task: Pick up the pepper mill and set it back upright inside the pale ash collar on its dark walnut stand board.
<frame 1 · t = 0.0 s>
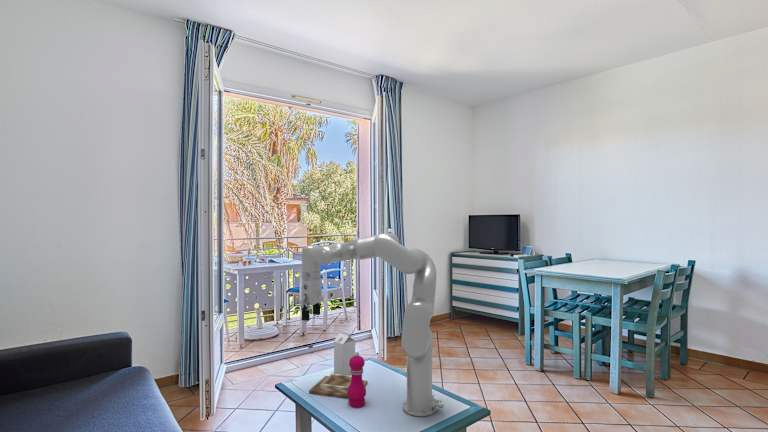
hand: (311, 317, 161), 31 cm above the table, tool pointing down, fingers open, 9 cm apart
milk carton: (344, 373, 182), on the table
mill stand: (339, 388, 166), on the table
pepper mill: (356, 404, 152), on the table
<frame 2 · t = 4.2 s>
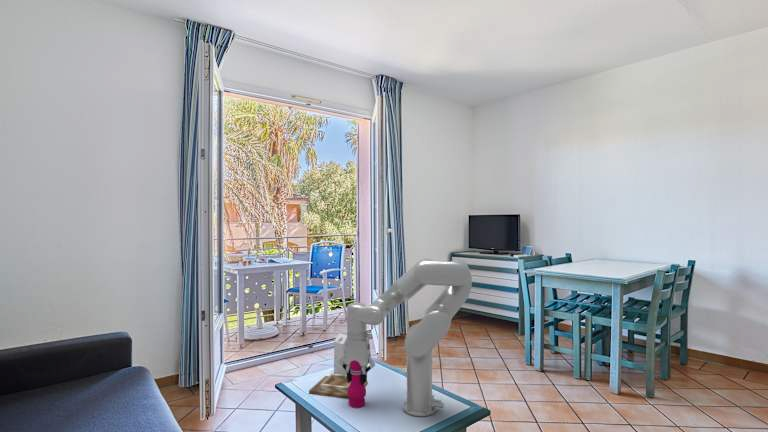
hand: (356, 382, 152), 8 cm above the table, tool pointing down, fingers closed on pepper mill, 5 cm apart
pepper mill: (356, 404, 152), on the table, touching gripper
everything else where it was.
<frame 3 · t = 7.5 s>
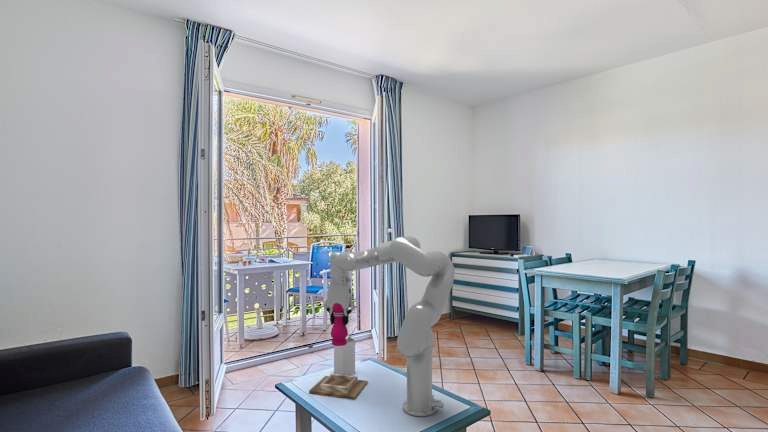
hand: (339, 323, 166), 27 cm above the table, tool pointing down, fingers closed on pepper mill, 5 cm apart
pepper mill: (339, 344, 166), point 19 cm above the table, touching gripper
everything else where it was.
when the fingers open (11 cm above the table, at t = 11.0 s): pepper mill drops 1 cm, resting on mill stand.
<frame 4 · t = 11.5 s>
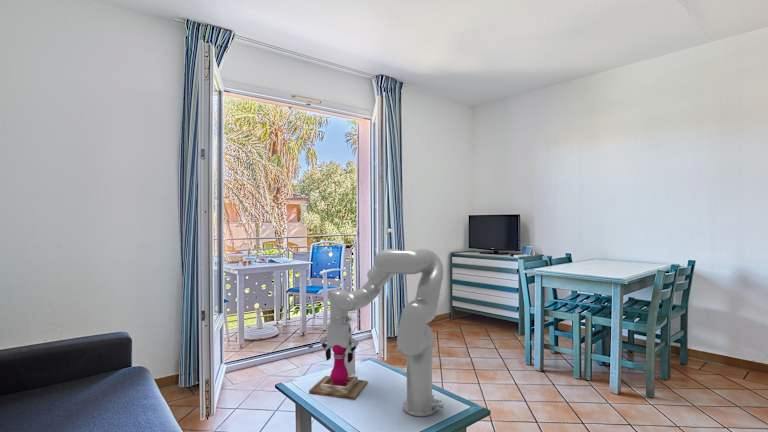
hand: (339, 360, 166), 12 cm above the table, tool pointing down, fingers open, 9 cm apart
pepper mill: (339, 386, 165), point 1 cm above the table, touching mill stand
everything else where it was.
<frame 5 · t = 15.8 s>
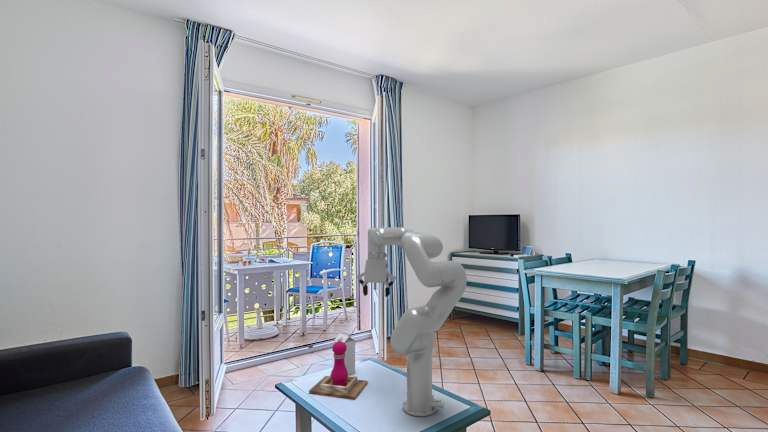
hand: (376, 295, 170), 38 cm above the table, tool pointing down, fingers open, 9 cm apart
nothing on the table moved.
at the end: pepper mill 0.2 cm off-centre on the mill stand, point 1.0 cm above the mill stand's base; pepper mill tilted 0°; the gripper is holding nothing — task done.
